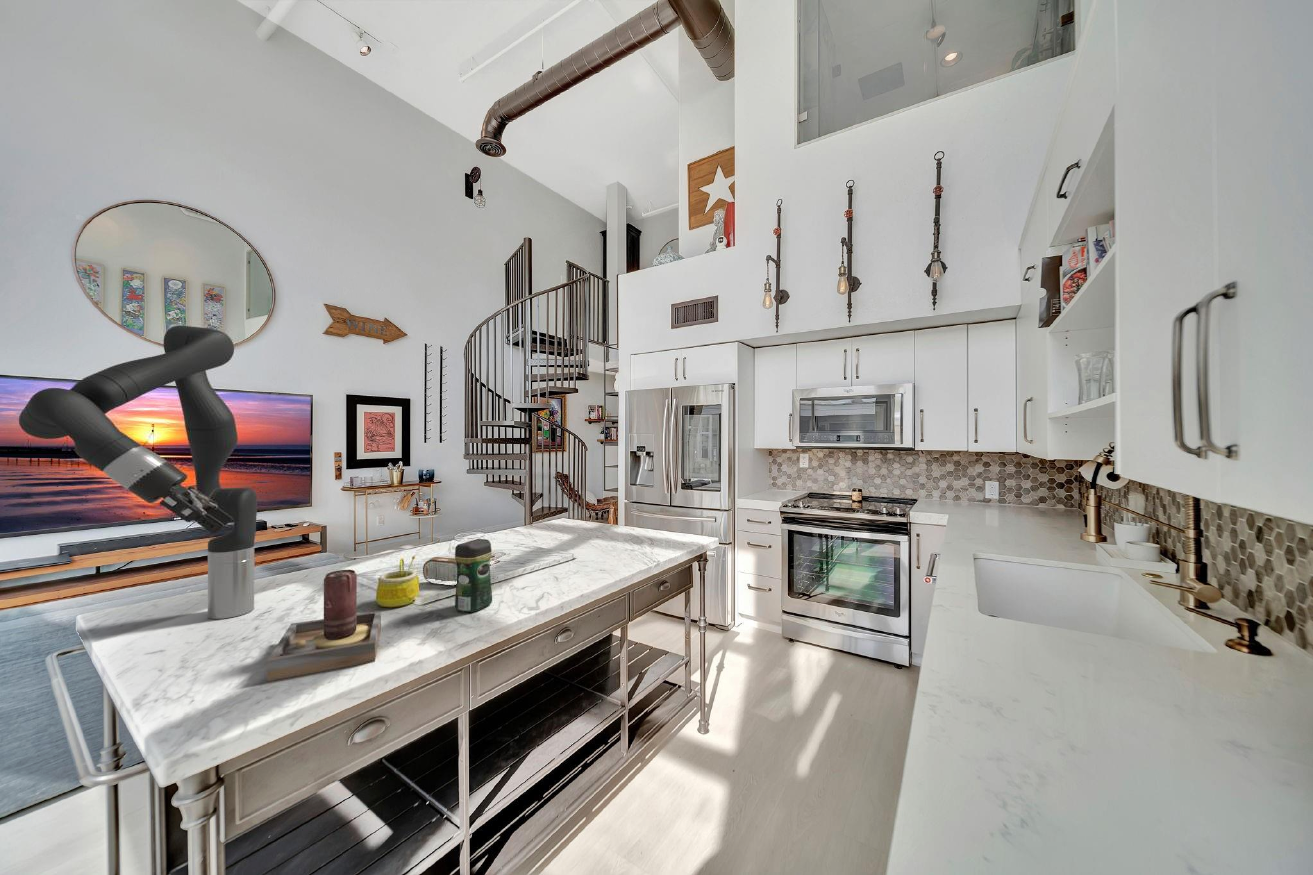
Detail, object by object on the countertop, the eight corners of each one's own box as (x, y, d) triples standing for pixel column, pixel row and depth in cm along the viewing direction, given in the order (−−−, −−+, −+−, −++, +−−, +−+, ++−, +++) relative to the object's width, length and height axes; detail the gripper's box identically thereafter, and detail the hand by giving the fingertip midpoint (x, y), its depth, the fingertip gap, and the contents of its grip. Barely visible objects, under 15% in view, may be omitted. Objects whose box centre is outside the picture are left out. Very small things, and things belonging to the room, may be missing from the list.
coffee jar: (474, 599, 137) (475, 535, 137) (496, 603, 134) (497, 538, 134) (448, 611, 128) (449, 542, 128) (471, 615, 125) (471, 545, 125)
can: (341, 641, 102) (341, 577, 102) (316, 639, 103) (317, 575, 103) (363, 630, 108) (364, 569, 108) (340, 628, 109) (340, 567, 109)
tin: (468, 584, 150) (468, 558, 150) (462, 588, 147) (462, 561, 147) (427, 581, 154) (427, 555, 154) (420, 584, 151) (420, 558, 150)
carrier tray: (291, 640, 109) (291, 619, 109) (380, 626, 117) (381, 606, 117) (267, 681, 91) (266, 655, 91) (374, 661, 99) (375, 637, 99)
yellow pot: (396, 611, 127) (397, 567, 127) (366, 606, 131) (366, 563, 131) (433, 596, 139) (433, 556, 139) (404, 592, 143) (404, 552, 143)
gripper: (153, 462, 88) (234, 517, 95) (176, 458, 100) (247, 507, 107) (111, 492, 86) (198, 547, 92) (140, 484, 97) (215, 533, 104)
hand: (224, 526), depth 99 cm, fingers open, 8 cm apart
